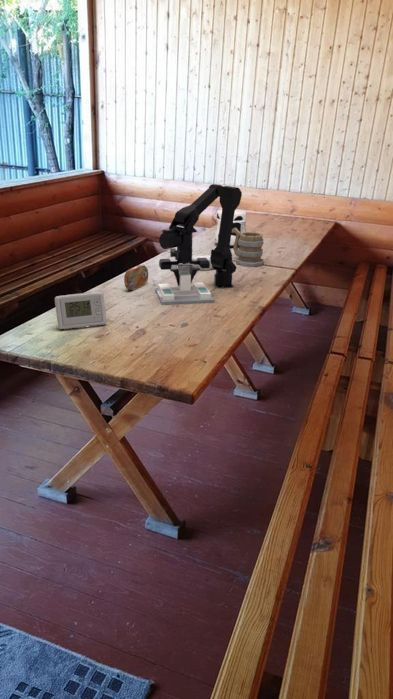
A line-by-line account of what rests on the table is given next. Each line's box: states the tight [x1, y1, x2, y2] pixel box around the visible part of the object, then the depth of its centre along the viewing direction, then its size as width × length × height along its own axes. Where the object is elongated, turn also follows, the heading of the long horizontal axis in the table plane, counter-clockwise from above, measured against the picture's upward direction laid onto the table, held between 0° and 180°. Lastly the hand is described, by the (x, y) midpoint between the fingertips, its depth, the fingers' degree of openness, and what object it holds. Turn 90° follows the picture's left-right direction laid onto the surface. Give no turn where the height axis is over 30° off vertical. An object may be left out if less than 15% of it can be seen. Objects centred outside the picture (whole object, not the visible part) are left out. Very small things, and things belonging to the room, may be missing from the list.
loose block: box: [177, 263, 190, 273], centre depth 243 cm, size 5×5×4 cm
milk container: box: [213, 208, 247, 248], centre depth 293 cm, size 17×17×18 cm
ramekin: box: [192, 253, 213, 271], centre depth 251 cm, size 11×11×5 cm
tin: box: [123, 264, 149, 291], centre depth 221 cm, size 15×3×8 cm, turn 154°
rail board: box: [154, 281, 215, 306], centre depth 213 cm, size 20×18×3 cm
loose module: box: [177, 271, 192, 291], centre depth 211 cm, size 4×6×6 cm, turn 12°
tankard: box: [232, 228, 264, 268], centre depth 262 cm, size 20×13×15 cm, turn 34°
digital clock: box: [54, 291, 108, 330], centre depth 180 cm, size 16×9×11 cm, turn 101°
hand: (184, 285), depth 212 cm, fingers closed on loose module, 4 cm apart
